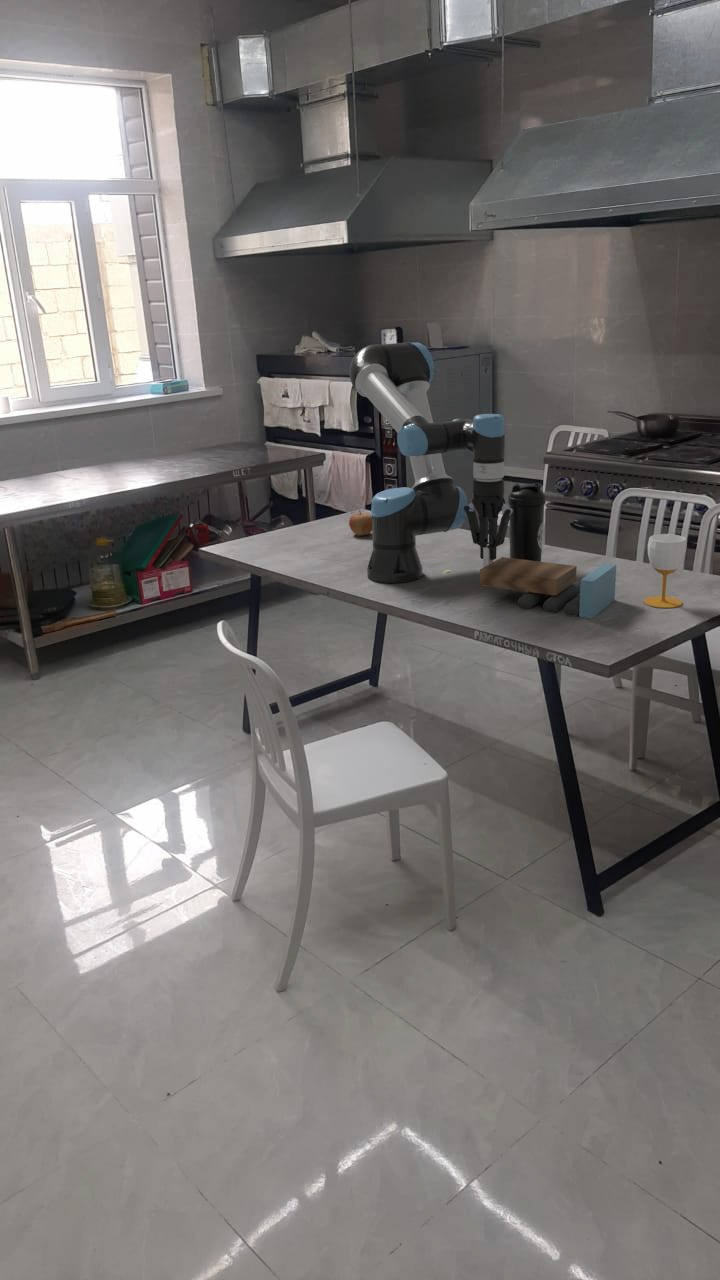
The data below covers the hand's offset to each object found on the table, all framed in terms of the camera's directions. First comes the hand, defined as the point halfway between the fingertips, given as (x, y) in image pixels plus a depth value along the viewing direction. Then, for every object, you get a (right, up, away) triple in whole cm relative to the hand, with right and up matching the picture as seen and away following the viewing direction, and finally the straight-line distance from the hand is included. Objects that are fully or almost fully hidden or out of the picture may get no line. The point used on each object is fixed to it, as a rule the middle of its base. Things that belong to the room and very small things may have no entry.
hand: (488, 571), depth 245 cm
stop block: (+24, -10, -13) cm, 29 cm away
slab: (+9, -3, -5) cm, 11 cm away
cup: (+41, -9, -11) cm, 43 cm away
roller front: (+21, -9, -11) cm, 26 cm away
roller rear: (+10, -6, -4) cm, 13 cm away
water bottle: (+14, +3, +24) cm, 28 cm away
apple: (-32, +16, +66) cm, 75 cm away
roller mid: (+16, -8, -8) cm, 19 cm away
